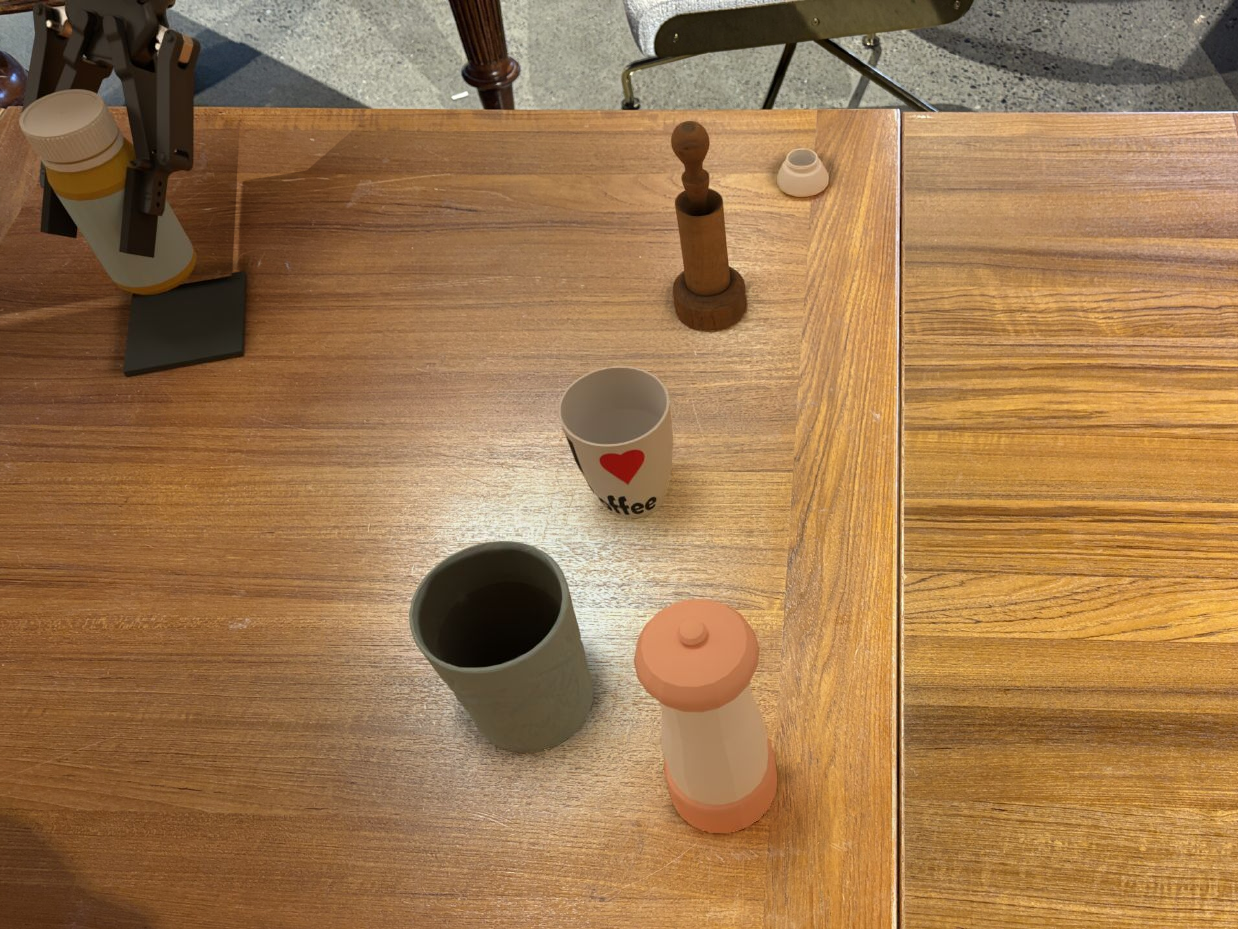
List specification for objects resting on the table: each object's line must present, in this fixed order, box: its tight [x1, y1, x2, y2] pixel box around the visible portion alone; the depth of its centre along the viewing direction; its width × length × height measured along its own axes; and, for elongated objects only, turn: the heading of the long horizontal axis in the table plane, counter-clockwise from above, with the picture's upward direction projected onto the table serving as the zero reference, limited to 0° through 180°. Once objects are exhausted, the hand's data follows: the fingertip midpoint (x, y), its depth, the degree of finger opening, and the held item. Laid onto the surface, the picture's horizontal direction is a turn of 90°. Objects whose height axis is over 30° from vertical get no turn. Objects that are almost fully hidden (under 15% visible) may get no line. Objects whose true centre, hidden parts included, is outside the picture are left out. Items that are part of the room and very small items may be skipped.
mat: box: [122, 270, 248, 377], centre depth 107 cm, size 10×11×1 cm
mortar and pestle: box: [670, 120, 748, 332], centre depth 100 cm, size 7×6×18 cm
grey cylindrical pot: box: [408, 540, 595, 753], centre depth 80 cm, size 10×10×12 cm
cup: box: [557, 365, 674, 520], centre depth 91 cm, size 8×8×10 cm
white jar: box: [776, 147, 830, 198], centre depth 116 cm, size 5×3×5 cm
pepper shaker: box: [633, 598, 778, 834], centre depth 73 cm, size 7×7×19 cm
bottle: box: [18, 89, 197, 295], centre depth 97 cm, size 7×7×15 cm
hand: (97, 244), depth 96 cm, fingers closed on bottle, 7 cm apart
